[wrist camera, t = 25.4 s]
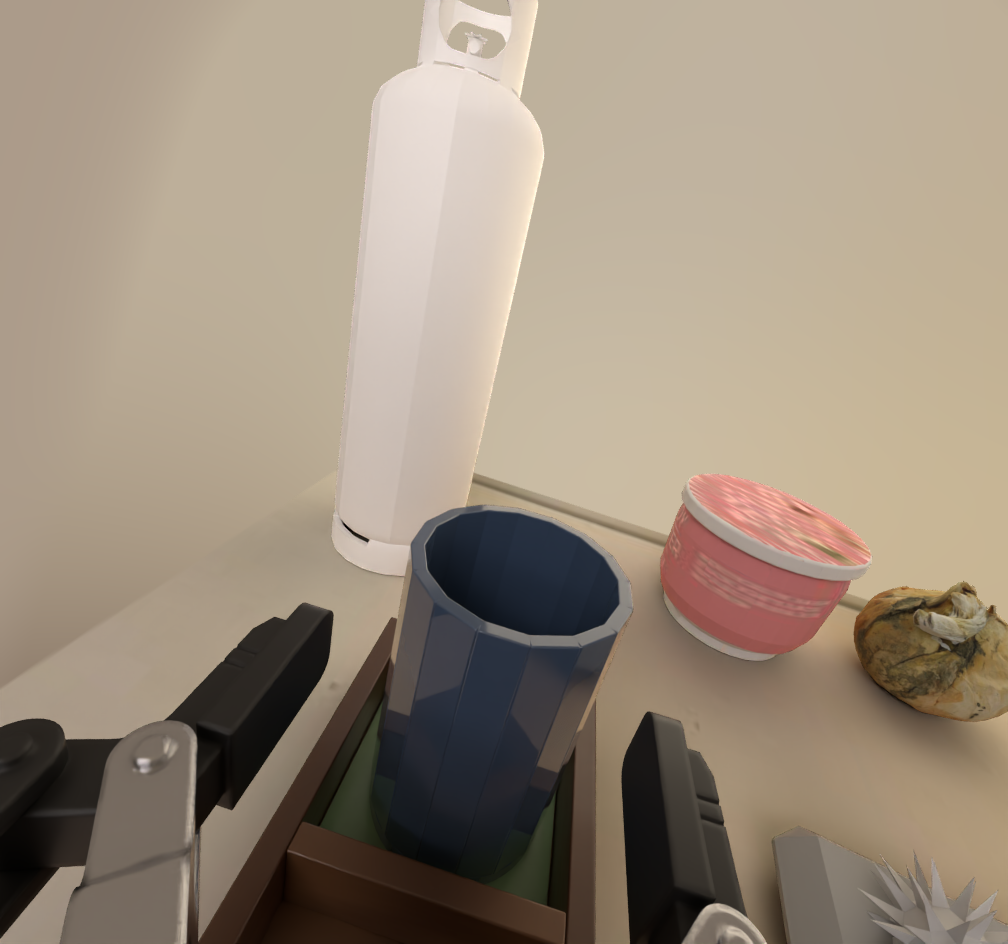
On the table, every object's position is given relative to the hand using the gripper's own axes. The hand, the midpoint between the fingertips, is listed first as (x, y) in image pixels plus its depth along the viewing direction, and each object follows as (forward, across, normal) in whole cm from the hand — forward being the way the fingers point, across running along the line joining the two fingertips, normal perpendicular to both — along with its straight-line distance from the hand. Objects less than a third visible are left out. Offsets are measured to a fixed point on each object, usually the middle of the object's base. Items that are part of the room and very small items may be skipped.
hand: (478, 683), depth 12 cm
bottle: (+18, +8, +9) cm, 21 cm away
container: (+19, -14, +9) cm, 26 cm away
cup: (+3, 0, +8) cm, 8 cm away
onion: (+17, -25, +9) cm, 32 cm away
